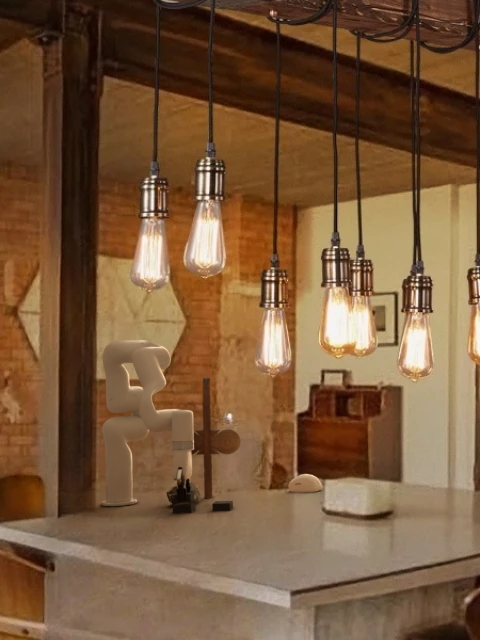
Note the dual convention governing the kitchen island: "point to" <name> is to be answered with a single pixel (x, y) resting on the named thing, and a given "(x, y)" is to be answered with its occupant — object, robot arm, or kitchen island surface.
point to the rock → (193, 489)
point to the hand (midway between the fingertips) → (183, 498)
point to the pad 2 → (222, 505)
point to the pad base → (184, 508)
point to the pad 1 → (189, 497)
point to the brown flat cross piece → (212, 440)
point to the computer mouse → (305, 484)
